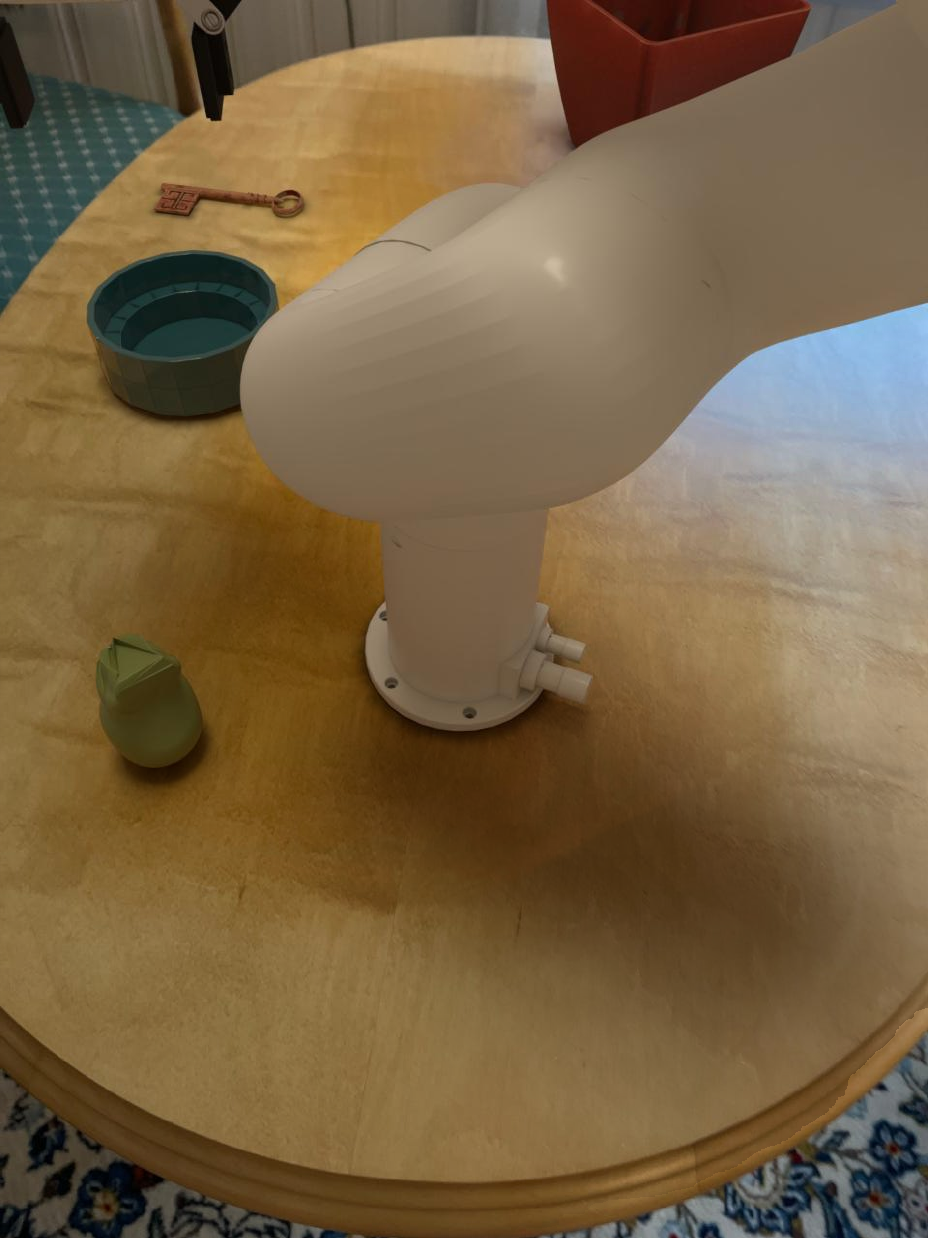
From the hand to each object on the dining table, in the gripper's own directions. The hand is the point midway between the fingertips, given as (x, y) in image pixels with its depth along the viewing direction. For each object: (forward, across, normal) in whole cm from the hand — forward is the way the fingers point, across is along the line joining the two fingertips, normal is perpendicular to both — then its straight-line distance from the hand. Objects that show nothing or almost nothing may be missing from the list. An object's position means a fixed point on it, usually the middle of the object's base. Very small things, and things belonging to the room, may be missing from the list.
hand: (120, 112), depth 50 cm
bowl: (+29, -3, +19) cm, 35 cm away
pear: (+30, -3, -19) cm, 36 cm away
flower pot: (+30, +43, +51) cm, 73 cm away
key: (+29, -2, +44) cm, 53 cm away
